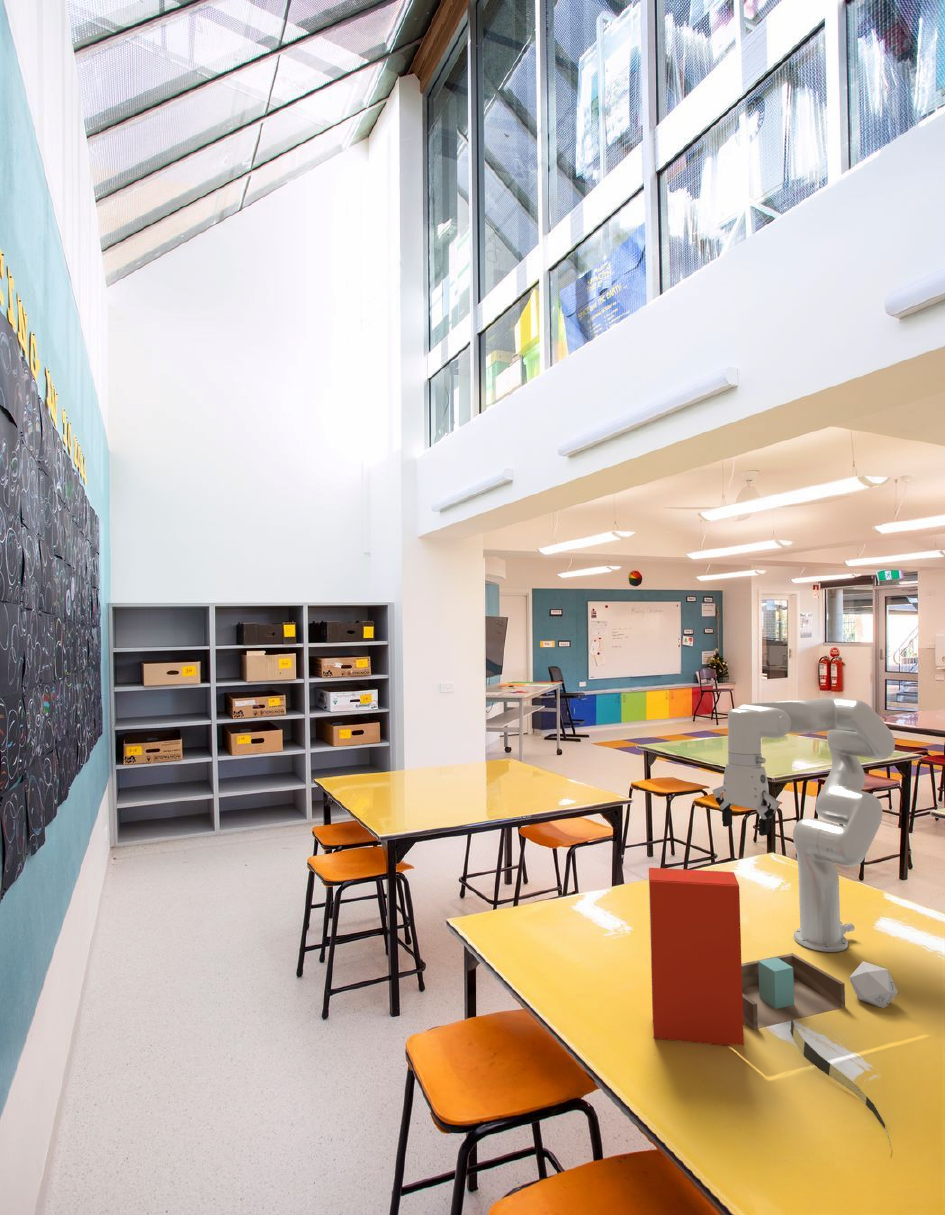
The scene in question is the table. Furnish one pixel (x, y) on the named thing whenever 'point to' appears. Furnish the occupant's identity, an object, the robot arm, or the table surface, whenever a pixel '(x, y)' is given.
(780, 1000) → the teal block
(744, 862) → the table surface
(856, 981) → the die
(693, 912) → the file binder
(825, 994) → the open box
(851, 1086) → the curved strip
